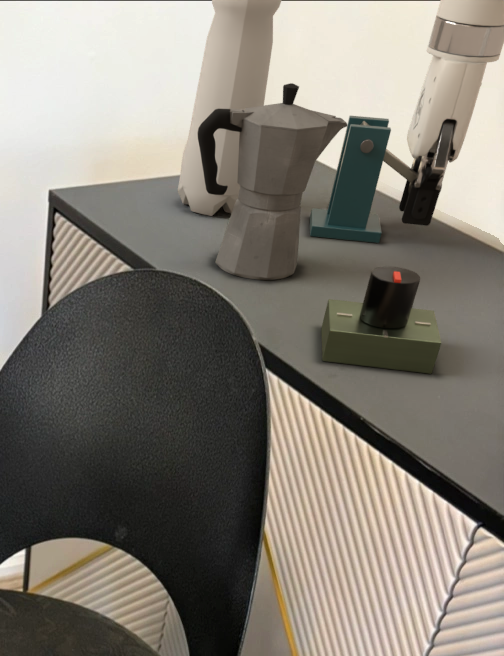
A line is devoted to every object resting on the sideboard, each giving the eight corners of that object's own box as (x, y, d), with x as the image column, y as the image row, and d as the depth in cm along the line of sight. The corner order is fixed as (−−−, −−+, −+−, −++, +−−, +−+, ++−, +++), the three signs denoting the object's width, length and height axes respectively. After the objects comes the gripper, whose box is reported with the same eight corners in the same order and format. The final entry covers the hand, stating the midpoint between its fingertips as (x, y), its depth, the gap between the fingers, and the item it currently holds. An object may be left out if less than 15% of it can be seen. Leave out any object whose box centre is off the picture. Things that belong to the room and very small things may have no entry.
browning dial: (358, 308, 107) (371, 260, 104) (405, 313, 106) (419, 265, 103) (360, 325, 104) (373, 276, 101) (408, 331, 103) (423, 282, 100)
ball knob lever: (423, 205, 132) (447, 178, 129) (426, 214, 129) (450, 187, 127) (344, 142, 129) (367, 113, 127) (345, 150, 127) (368, 121, 124)
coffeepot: (302, 251, 128) (341, 74, 116) (326, 281, 121) (370, 96, 109) (169, 250, 127) (196, 71, 115) (186, 280, 120) (215, 93, 108)
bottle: (260, 217, 137) (318, -82, 117) (191, 220, 135) (238, -83, 115) (231, 194, 143) (281, -92, 123) (165, 197, 142) (205, -93, 122)
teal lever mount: (376, 224, 136) (404, 118, 128) (379, 243, 131) (408, 133, 123) (309, 218, 137) (333, 111, 129) (309, 236, 132) (334, 126, 124)
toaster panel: (424, 339, 109) (434, 307, 107) (431, 375, 103) (442, 342, 101) (321, 327, 111) (328, 296, 109) (322, 362, 105) (330, 329, 103)
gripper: (424, 21, 125) (377, 192, 138) (438, 52, 113) (385, 237, 126) (493, 27, 124) (439, 199, 137) (514, 59, 112) (453, 245, 125)
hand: (414, 215), depth 131 cm, fingers closed on ball knob lever, 3 cm apart
